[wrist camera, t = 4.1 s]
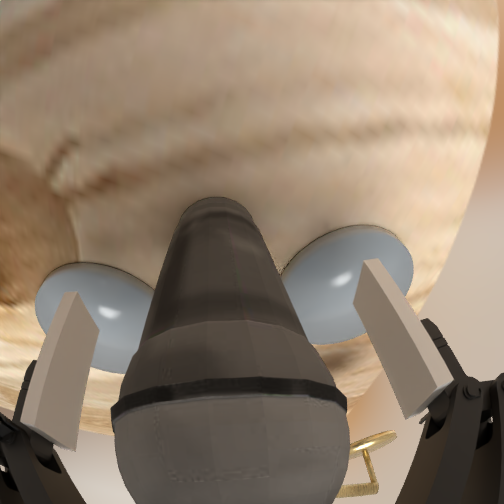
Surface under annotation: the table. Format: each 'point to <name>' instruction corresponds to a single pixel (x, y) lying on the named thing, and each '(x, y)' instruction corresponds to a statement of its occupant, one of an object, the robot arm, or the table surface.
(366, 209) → the table surface
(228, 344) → the beverage cup
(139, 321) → the grey flat disc
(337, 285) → the dish light side
